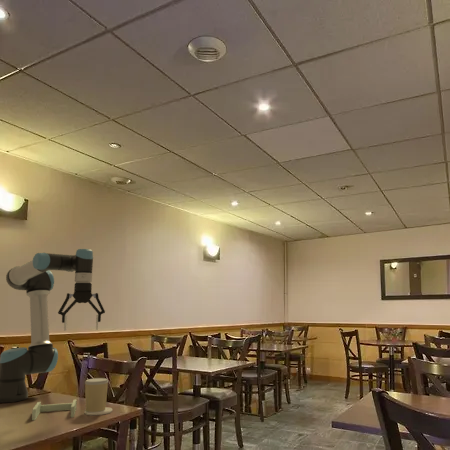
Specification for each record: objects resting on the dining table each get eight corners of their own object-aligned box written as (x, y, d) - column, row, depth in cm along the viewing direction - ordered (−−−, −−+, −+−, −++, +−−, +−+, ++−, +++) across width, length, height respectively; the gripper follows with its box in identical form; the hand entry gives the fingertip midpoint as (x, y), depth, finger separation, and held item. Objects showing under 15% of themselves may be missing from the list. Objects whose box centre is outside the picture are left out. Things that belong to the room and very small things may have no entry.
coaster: (85, 410, 183) (85, 408, 184) (112, 408, 186) (112, 406, 186) (83, 416, 173) (83, 414, 173) (112, 414, 176) (112, 412, 176)
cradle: (37, 411, 182) (38, 401, 183) (76, 408, 186) (76, 398, 187) (31, 420, 168) (32, 409, 169) (73, 417, 172) (74, 406, 173)
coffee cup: (102, 406, 186) (103, 377, 188) (110, 410, 179) (111, 379, 181) (80, 410, 180) (81, 379, 182) (88, 414, 173) (89, 382, 175)
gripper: (53, 282, 194) (50, 331, 190) (111, 282, 200) (109, 329, 196) (55, 283, 201) (52, 330, 197) (111, 283, 207) (109, 328, 203)
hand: (81, 330), depth 196 cm, fingers open, 13 cm apart
